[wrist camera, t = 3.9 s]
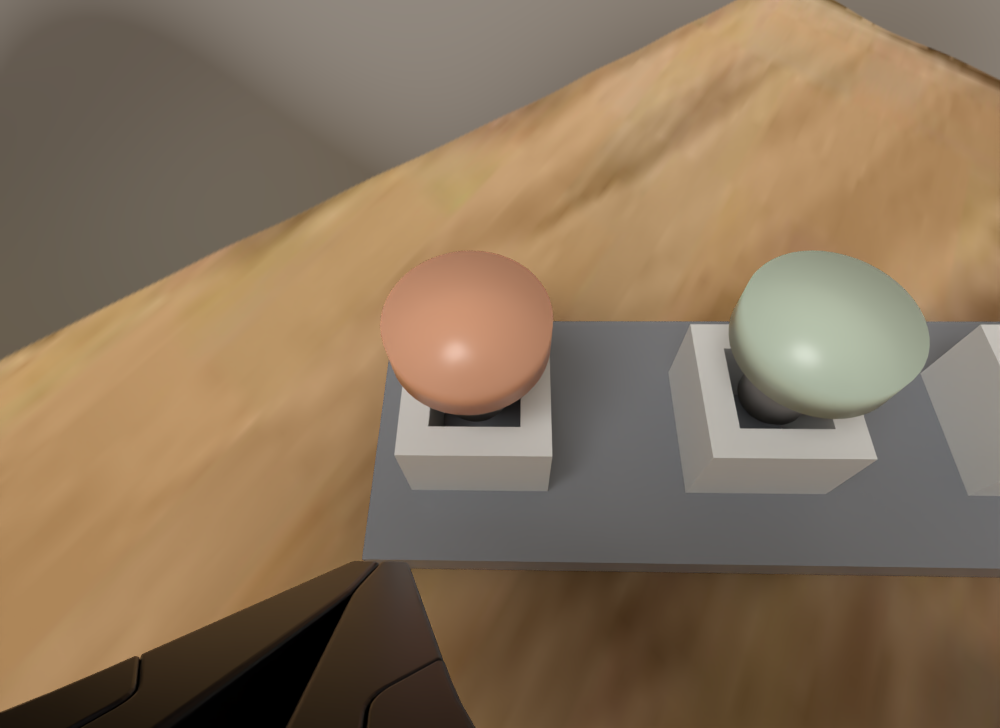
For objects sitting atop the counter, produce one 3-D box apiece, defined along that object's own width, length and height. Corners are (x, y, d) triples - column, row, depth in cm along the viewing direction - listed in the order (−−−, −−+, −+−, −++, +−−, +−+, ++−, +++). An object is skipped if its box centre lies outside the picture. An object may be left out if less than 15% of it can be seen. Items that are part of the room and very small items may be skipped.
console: (1155, 579, 21) (1324, 547, 16) (371, 567, 22) (334, 534, 17) (1031, 341, 26) (1136, 267, 21) (399, 339, 27) (377, 269, 22)
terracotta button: (547, 458, 19) (555, 394, 15) (400, 457, 19) (369, 393, 15) (545, 334, 21) (550, 250, 17) (414, 334, 21) (390, 250, 17)
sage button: (863, 463, 18) (957, 398, 15) (710, 461, 19) (762, 396, 15) (824, 336, 21) (896, 250, 17) (689, 335, 21) (729, 250, 17)
